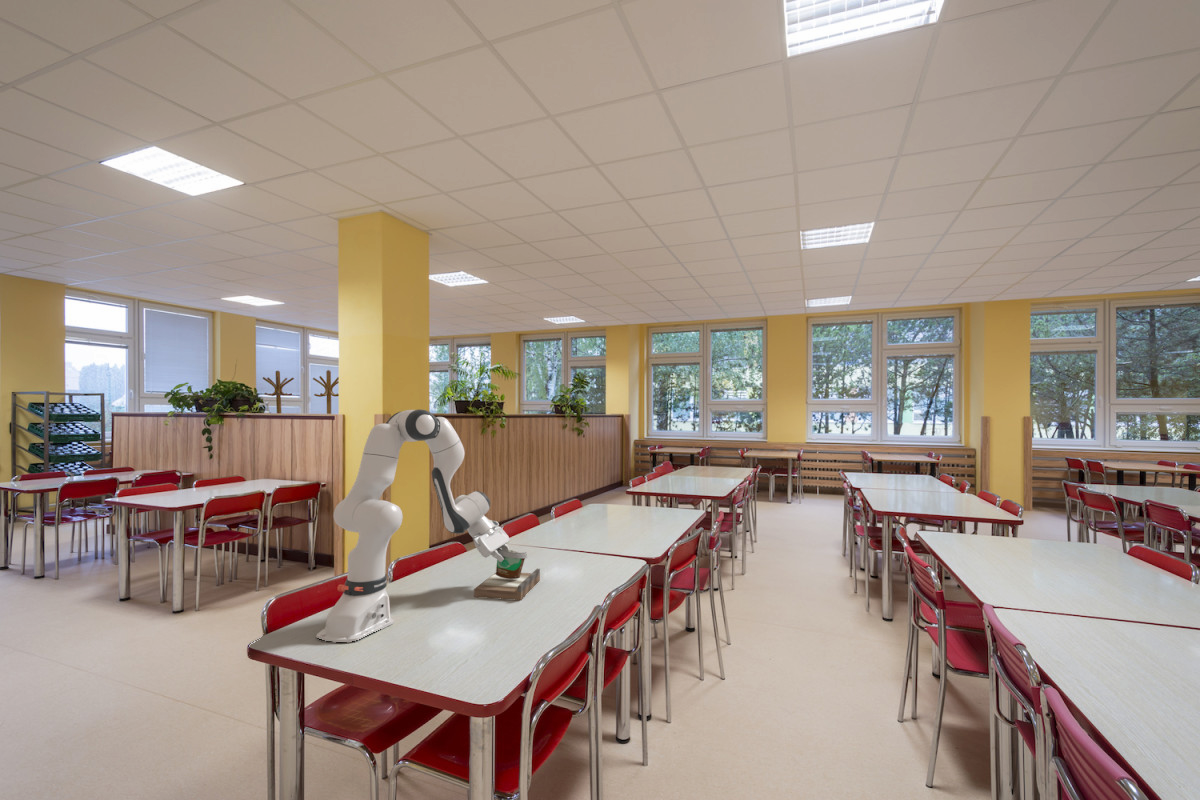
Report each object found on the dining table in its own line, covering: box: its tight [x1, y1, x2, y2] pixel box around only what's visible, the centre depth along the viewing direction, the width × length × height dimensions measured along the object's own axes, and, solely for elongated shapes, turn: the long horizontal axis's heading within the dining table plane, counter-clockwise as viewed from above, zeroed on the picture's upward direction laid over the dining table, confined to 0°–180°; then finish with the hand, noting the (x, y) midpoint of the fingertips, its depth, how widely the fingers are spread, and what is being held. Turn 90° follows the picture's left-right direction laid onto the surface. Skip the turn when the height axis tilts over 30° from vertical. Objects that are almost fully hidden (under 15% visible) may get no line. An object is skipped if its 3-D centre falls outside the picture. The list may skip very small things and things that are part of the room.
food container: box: [495, 547, 528, 579], centre depth 194 cm, size 12×6×10 cm, turn 79°
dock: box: [473, 568, 541, 601], centre depth 194 cm, size 22×18×5 cm
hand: (506, 557), depth 194 cm, fingers closed on food container, 6 cm apart
